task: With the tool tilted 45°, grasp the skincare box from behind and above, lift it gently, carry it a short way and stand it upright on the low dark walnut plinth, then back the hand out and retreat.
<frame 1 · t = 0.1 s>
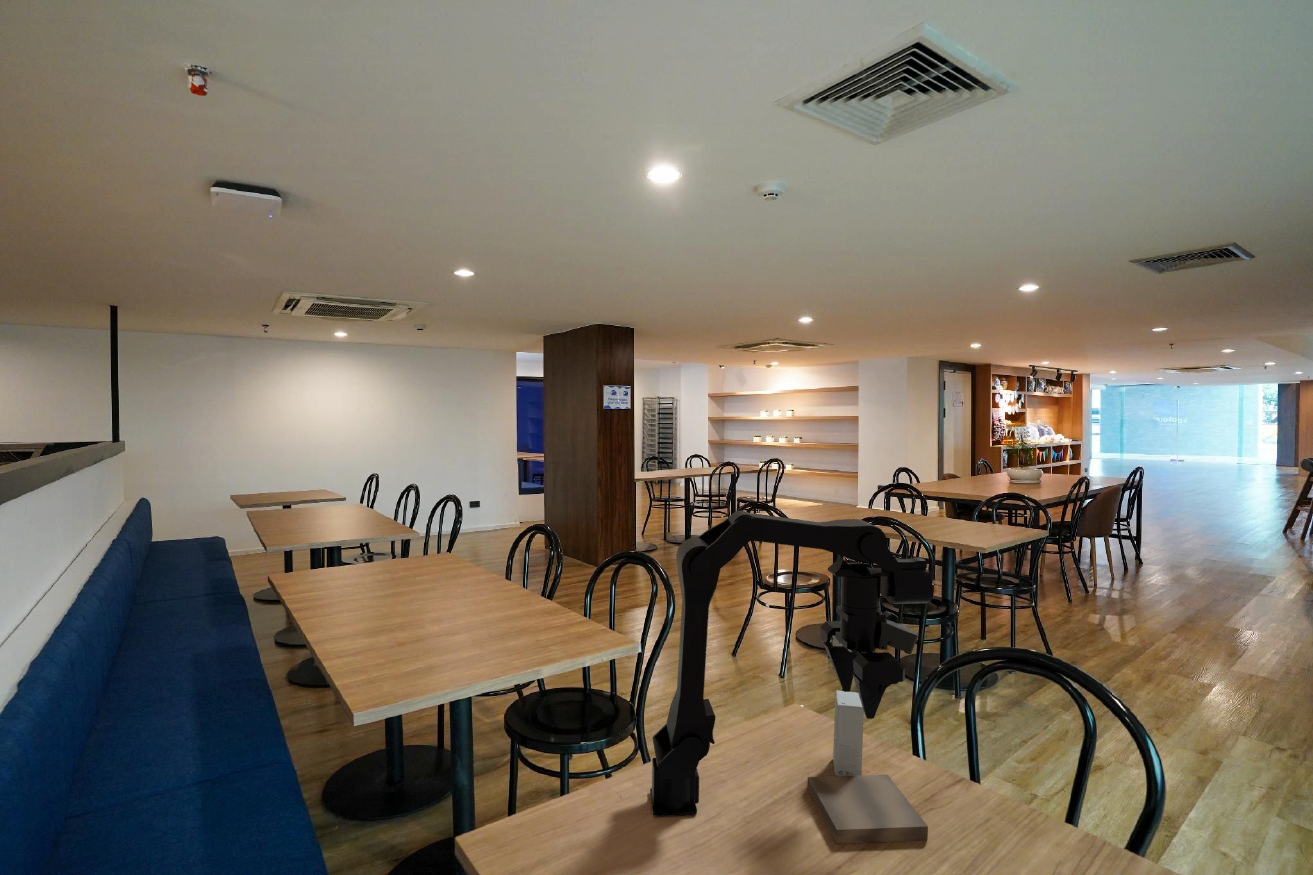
hand: (857, 704, 102), 15 cm above the table, tool pointing down, fingers open, 9 cm apart
skincare box: (846, 770, 110), on the table
walnut plinth: (863, 813, 98), on the table
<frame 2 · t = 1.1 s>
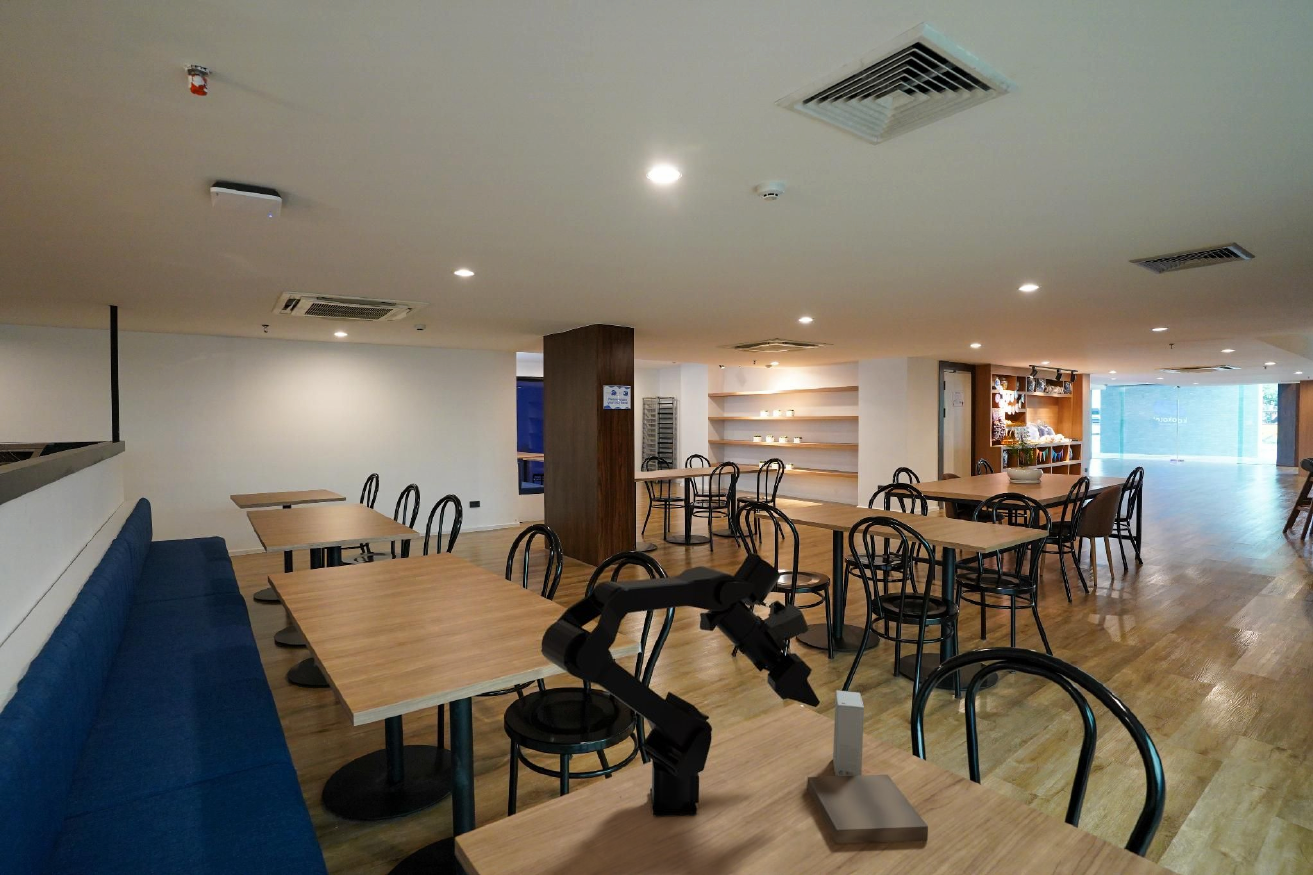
hand: (806, 692, 108), 13 cm above the table, tool tilted 45°, fingers open, 9 cm apart
nothing on the table moved.
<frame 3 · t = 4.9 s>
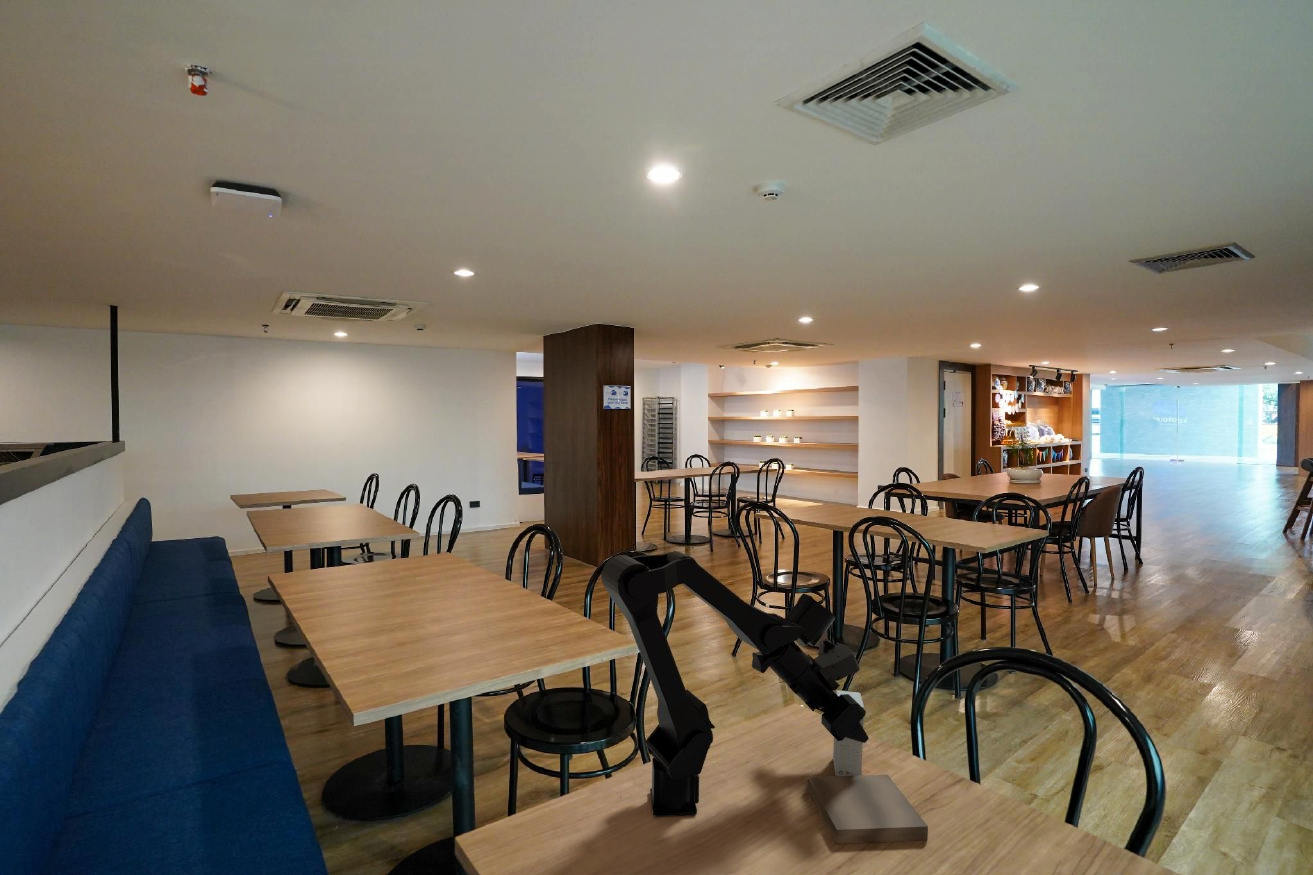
hand: (856, 729, 110), 7 cm above the table, tool tilted 45°, fingers closed on skincare box, 7 cm apart
skincare box: (846, 769, 110), on the table, touching gripper
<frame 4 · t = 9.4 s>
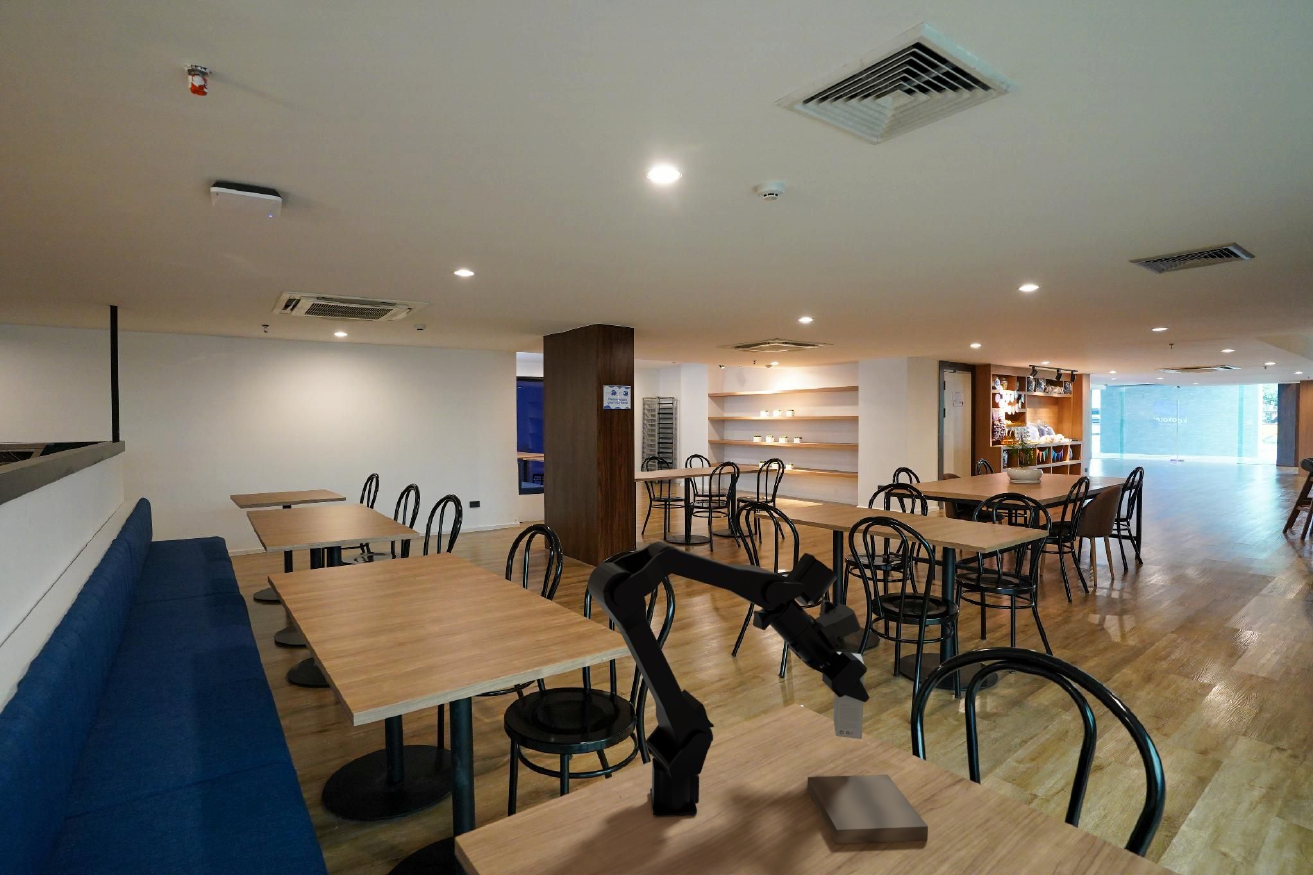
hand: (856, 690, 110), 13 cm above the table, tool tilted 45°, fingers closed on skincare box, 7 cm apart
skincare box: (847, 730, 110), point 6 cm above the table, touching gripper
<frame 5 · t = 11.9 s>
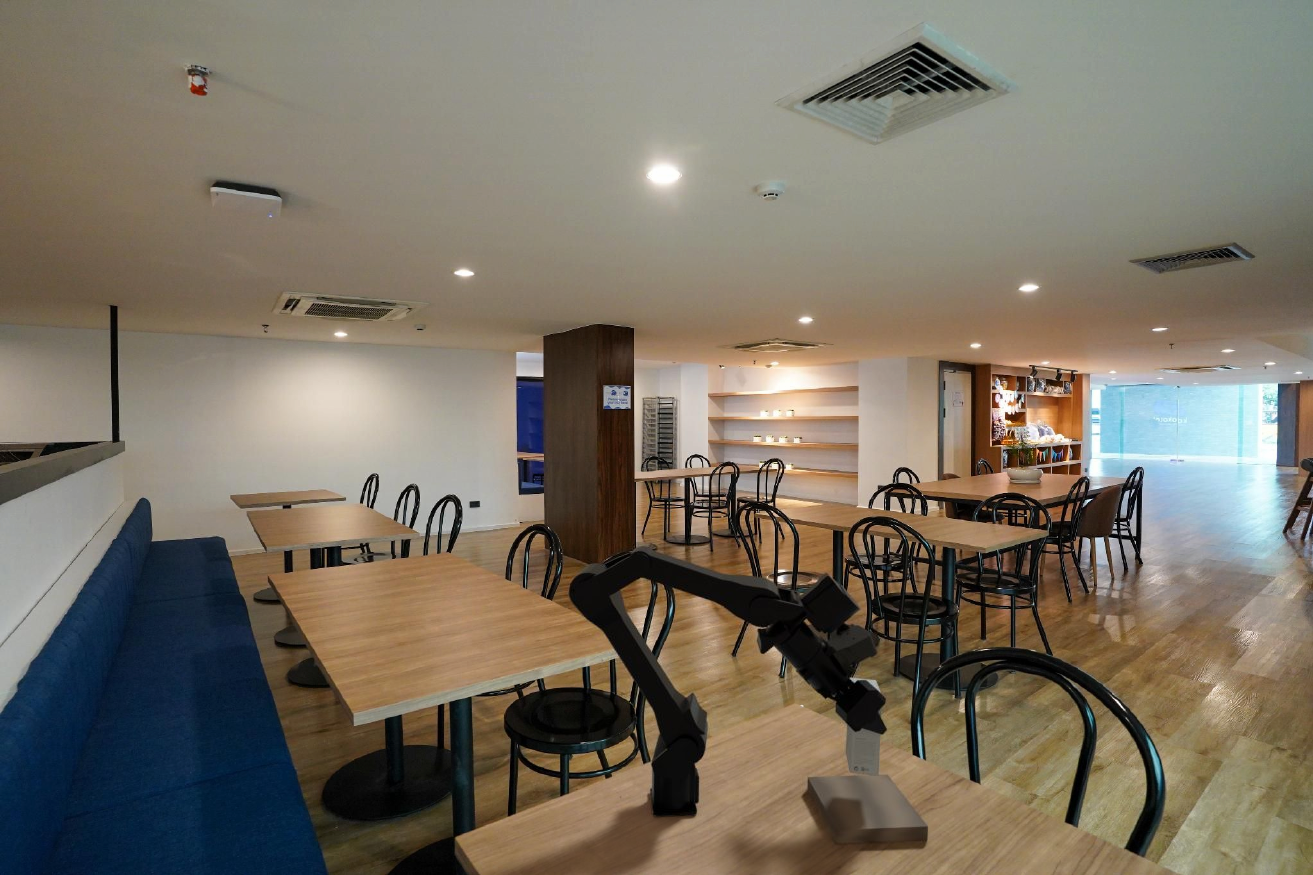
hand: (872, 720, 99), 13 cm above the table, tool tilted 45°, fingers closed on skincare box, 7 cm apart
skincare box: (861, 765, 100), point 6 cm above the table, touching gripper
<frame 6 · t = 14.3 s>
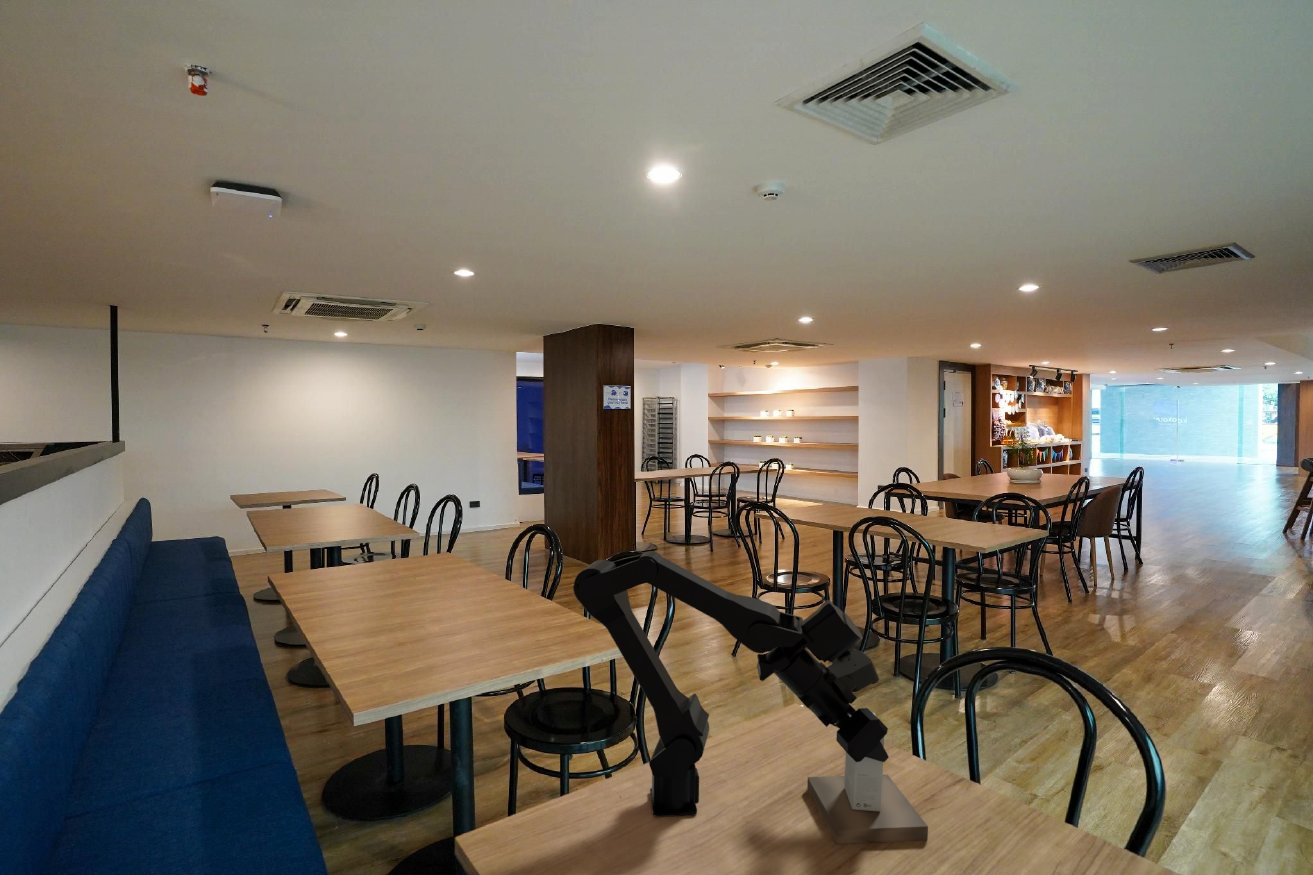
hand: (874, 746, 98), 10 cm above the table, tool tilted 45°, fingers closed on skincare box, 6 cm apart
skincare box: (861, 800, 98), point 2 cm above the table, touching gripper, walnut plinth
when the fingers open (10 cm above the table, at t = 14.8 s): skincare box stays where it is, resting on walnut plinth.
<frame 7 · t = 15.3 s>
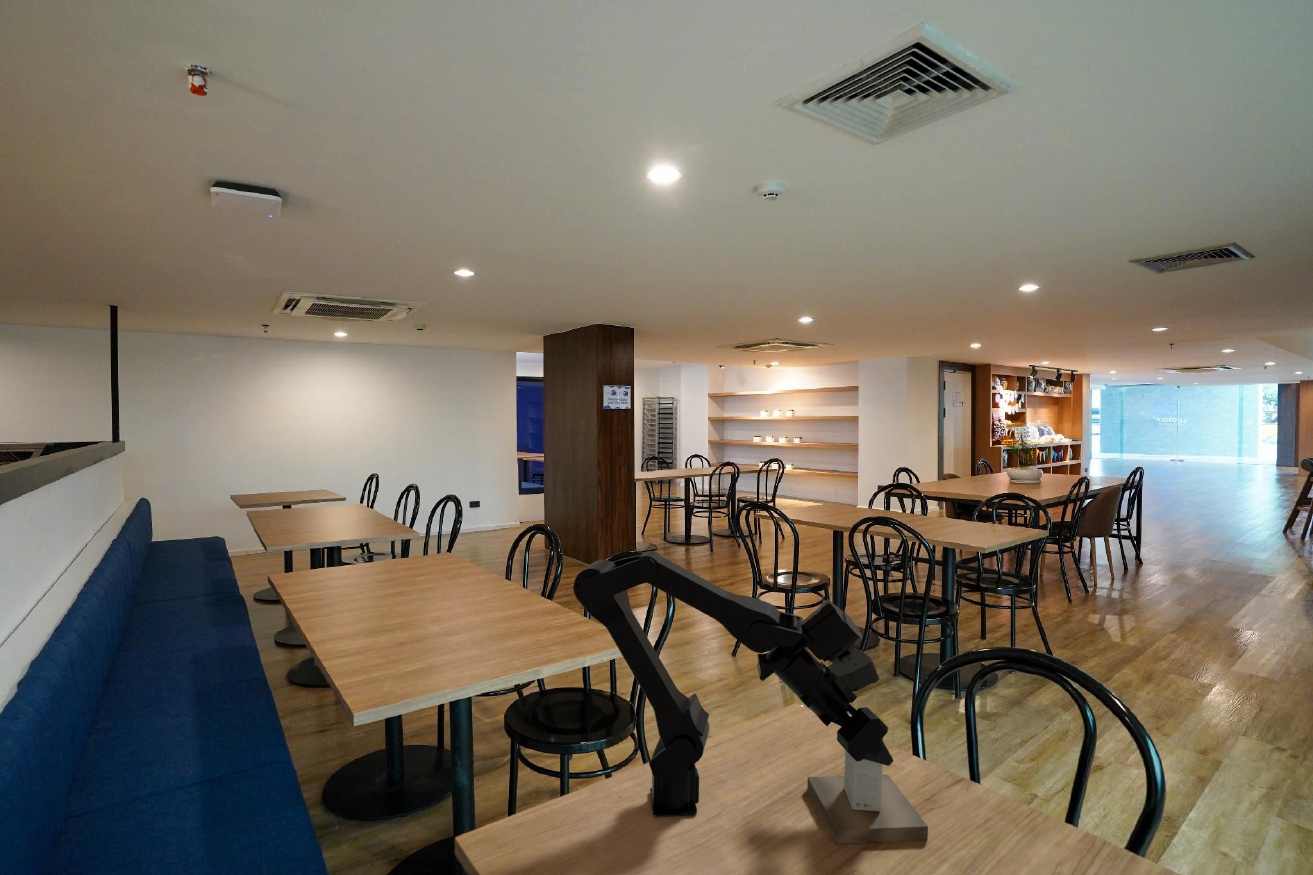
hand: (874, 746, 98), 10 cm above the table, tool tilted 45°, fingers open, 9 cm apart
skincare box: (861, 800, 98), point 2 cm above the table, touching walnut plinth
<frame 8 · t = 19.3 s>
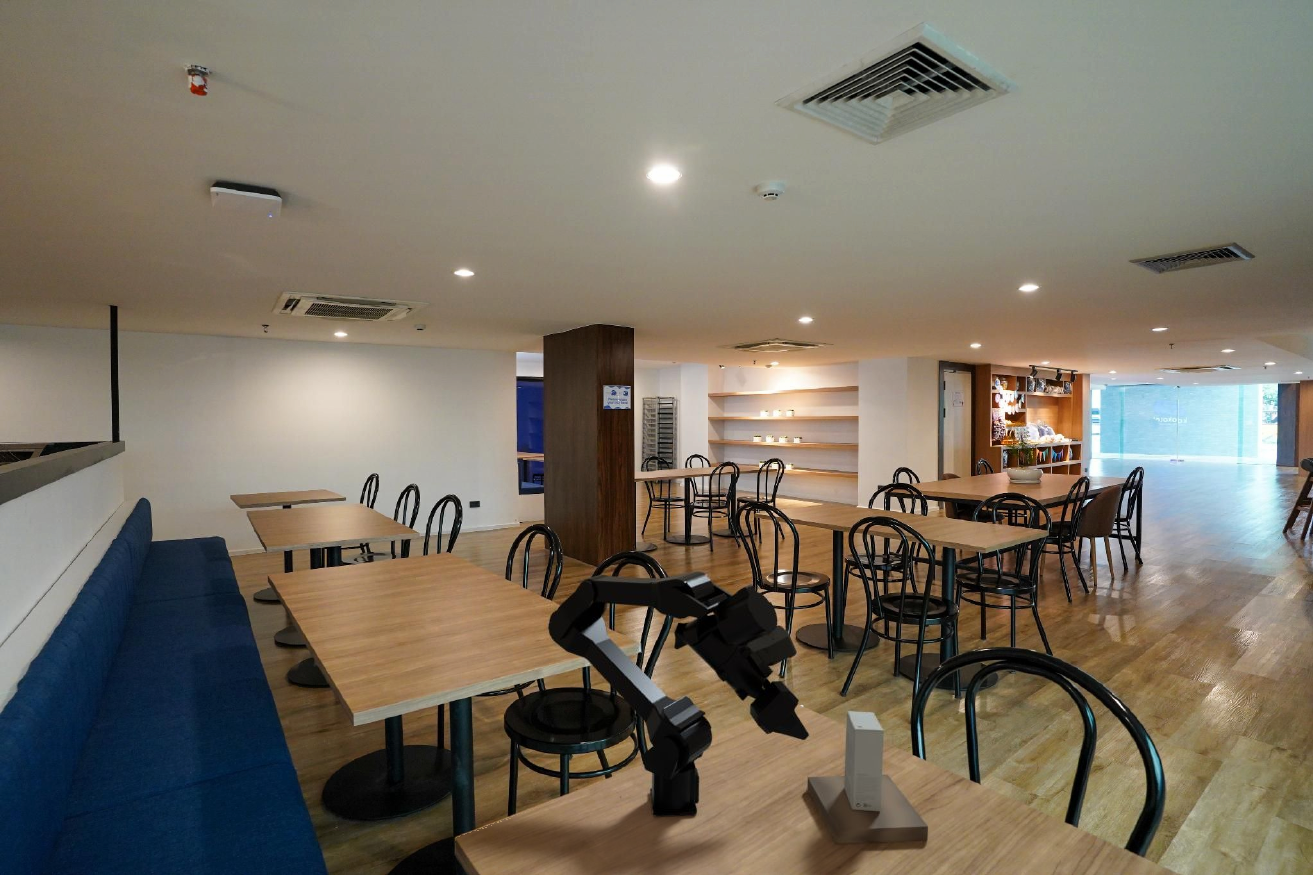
hand: (794, 721, 98), 14 cm above the table, tool tilted 45°, fingers open, 9 cm apart
nothing on the table moved.
at the end: skincare box inside the target area on the walnut plinth (0.4 cm from its centre), point 1.8 cm above the walnut plinth's base; skincare box tilted 0°; the gripper is holding nothing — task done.
